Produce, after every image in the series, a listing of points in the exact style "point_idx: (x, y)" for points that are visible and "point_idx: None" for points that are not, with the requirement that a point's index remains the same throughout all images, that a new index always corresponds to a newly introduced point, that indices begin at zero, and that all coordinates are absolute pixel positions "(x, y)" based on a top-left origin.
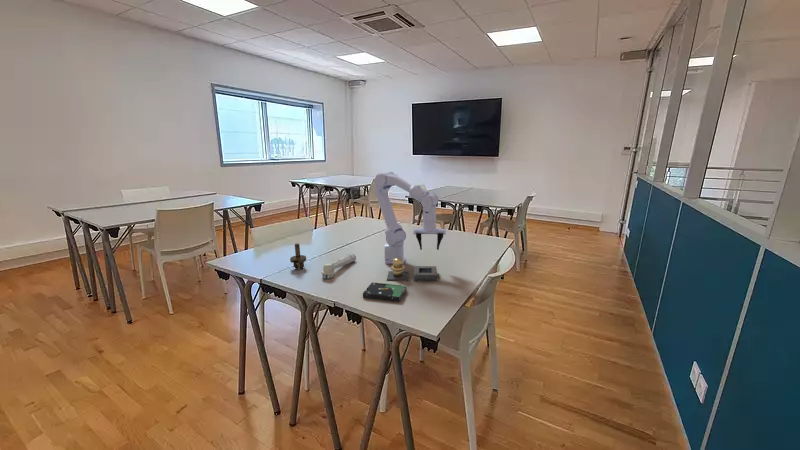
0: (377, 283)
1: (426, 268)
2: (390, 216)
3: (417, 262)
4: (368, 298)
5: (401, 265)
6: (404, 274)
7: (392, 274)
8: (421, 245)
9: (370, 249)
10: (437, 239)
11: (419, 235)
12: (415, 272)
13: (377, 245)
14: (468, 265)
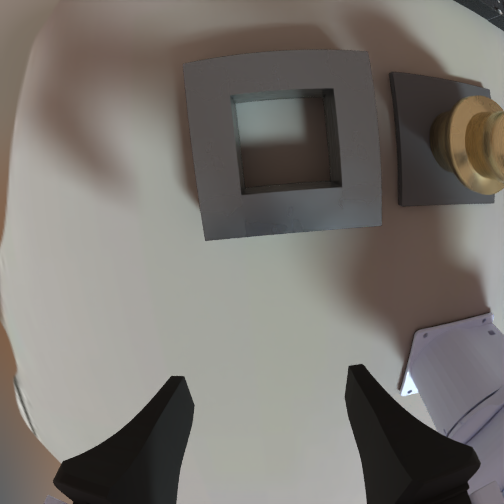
0: (502, 11)
1: (281, 191)
2: None
3: (339, 364)
4: None
5: (478, 124)
6: (422, 151)
7: None
8: (365, 395)
9: None
10: (166, 478)
11: (423, 500)
12: (361, 90)
13: None
14: (71, 338)
